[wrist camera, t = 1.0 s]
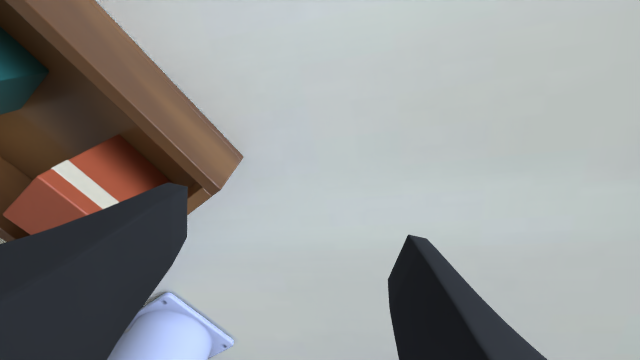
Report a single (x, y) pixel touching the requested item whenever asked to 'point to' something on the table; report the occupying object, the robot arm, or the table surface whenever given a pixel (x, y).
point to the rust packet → (84, 186)
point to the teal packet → (17, 74)
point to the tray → (100, 105)
